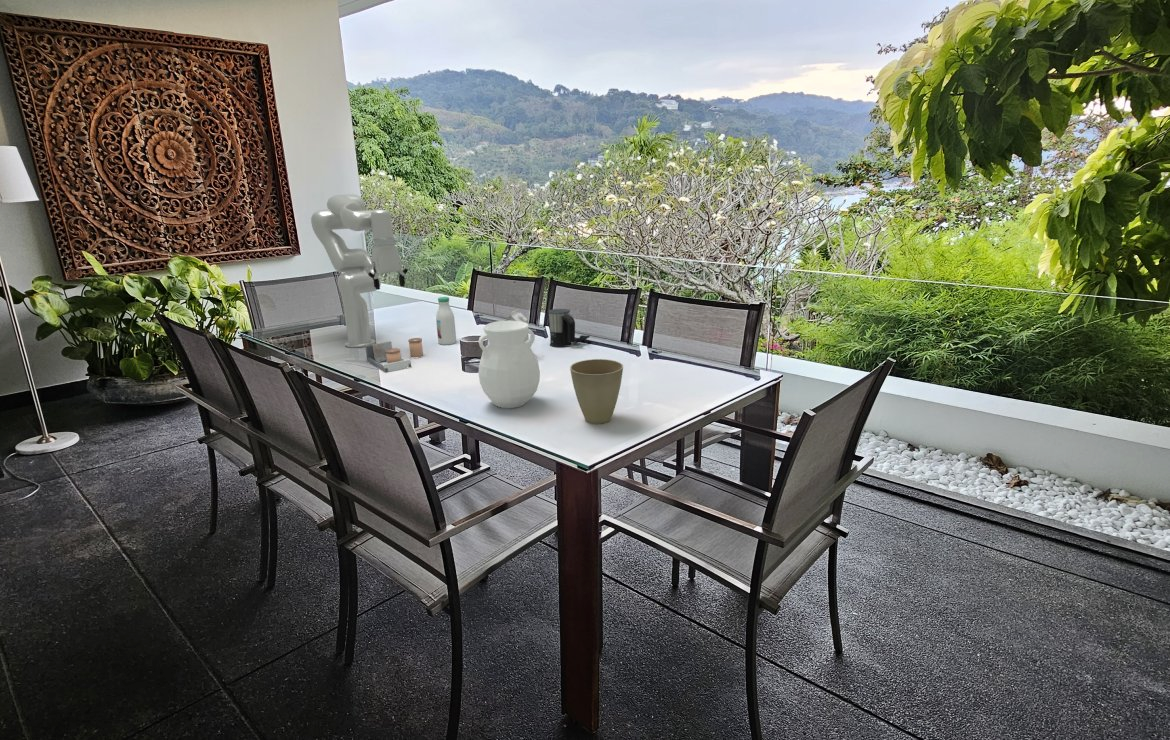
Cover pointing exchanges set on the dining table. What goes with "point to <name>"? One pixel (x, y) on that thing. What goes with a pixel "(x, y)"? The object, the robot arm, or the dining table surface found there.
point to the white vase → (508, 364)
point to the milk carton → (518, 319)
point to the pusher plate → (381, 350)
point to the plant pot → (597, 388)
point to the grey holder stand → (387, 366)
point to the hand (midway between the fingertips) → (390, 287)
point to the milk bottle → (445, 322)
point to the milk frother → (562, 328)
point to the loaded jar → (393, 355)
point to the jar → (415, 347)
